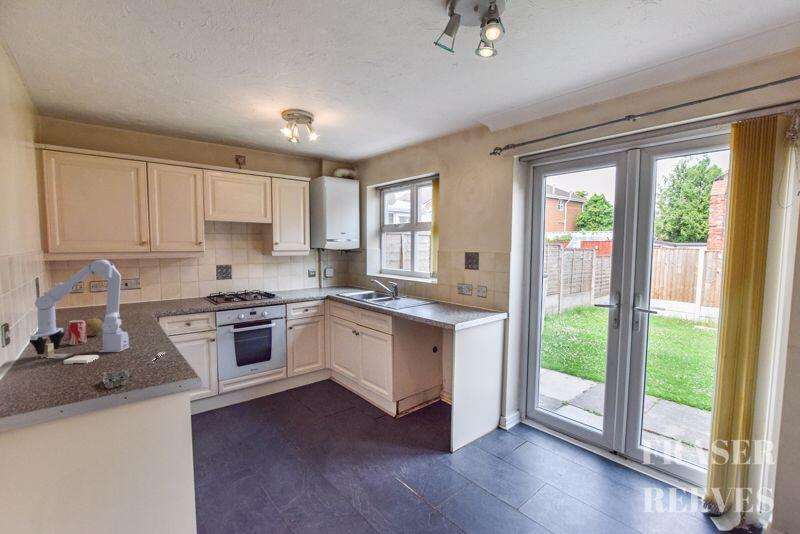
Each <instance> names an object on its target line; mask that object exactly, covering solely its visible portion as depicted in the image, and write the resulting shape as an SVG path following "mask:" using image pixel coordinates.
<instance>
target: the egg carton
mask: <svg viewBox="0 0 800 534" xmlns="http://www.w3.org/2000/svg"><path fill="white" fill-rule="evenodd" d="M102 376H103V377H102V378H103V379H102V381H103V383H104V384H105V385H104V384H103V385H104V388H105V387H113V386H115V385H119V384H120V385H124V384H125V383H128V382H129V377H130V371H129V369H127V370H125V371H121V372H118V371H117V372H115V374H113V373H112V372H106V371H103V375H102ZM121 376H122V377H123V378H120V377H121ZM109 379H113V380H111V382H110V380H109Z"/></svg>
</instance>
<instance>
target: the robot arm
mask: <svg viewBox="0 0 800 534" xmlns="http://www.w3.org/2000/svg"><path fill="white" fill-rule="evenodd" d="M95 274H96V275H100V276H102V277H103V278H104V279H106V280H107V290H106V291H107V292H106V293H107V294H106V309H105V315H104V321H102V322H103V324H102V330H103V331H101V334H102V349H101V350H98V353H119V352H122V351H124V350H127V349H129V348H131V346H130V343H129V341H130V340H129V333H128V332H127V331H123V329H122V328H121V326H122V323H123V322H122V319H121V315H120V301H121V300H120V298H121V284H122V283H121V282H122V275H121V273H120V272H119V270H118V269H117V268H116V266H115V265H114V263H113V262H111V261H110V260H108V259H97V260H94V261H92V262H91V263H89V264H87V265H85V266H84V267H83V268H81V269H80V270H78V271H77V272H76V273H75V274H74V275H72V276H71V277H70V278H68V279H67V280H65V281H64V282H59V283H54V284H52V286H53V287H52V288H50V289H49V290H48V291H45V292H43V295H41V296H38V297H37V298H36V299H35V301H34V305H35V307H36V308H37V309H36V310H37V328H38V329H37V331H36V332H35V333H34V334H32V335H30V339H29V343H30V344H31V345H32V346H33V347H34V350H35V352H36V355H41V354H44V352H45V344H46V343H47V341H48V338H49V340H50V343H53V344H54V350H59V348H60V346H61V345H60V344H61V341H62V339H63V337H64V336H65V335H66V334H65V332H64V327H57V322H56V321H57V319H56V316H57V315H56V305H57V303H58V302H59V301H61V300H62V299H64V298H65V297H66V296H68V294H70V293H72V291H73V290H72V287H74V286H75V285H77V284H78V283H80V282H81V281H83V279H85V278H86V277H87V276H91V275H95ZM46 337H48V338H46Z"/></svg>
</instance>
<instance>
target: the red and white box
mask: <svg viewBox="0 0 800 534" xmlns="http://www.w3.org/2000/svg"><path fill="white" fill-rule="evenodd" d="M68 322H69V323H68V324H67V341H68V344H69V345H71V346H80V345H79V344H81V345H84V344H85V343H86V342H87V338H88V337H87V336H88V335H87V332H86V323H85V319H75V320H74V319H73V320H69V321H68ZM83 343H84V344H83Z"/></svg>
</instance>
